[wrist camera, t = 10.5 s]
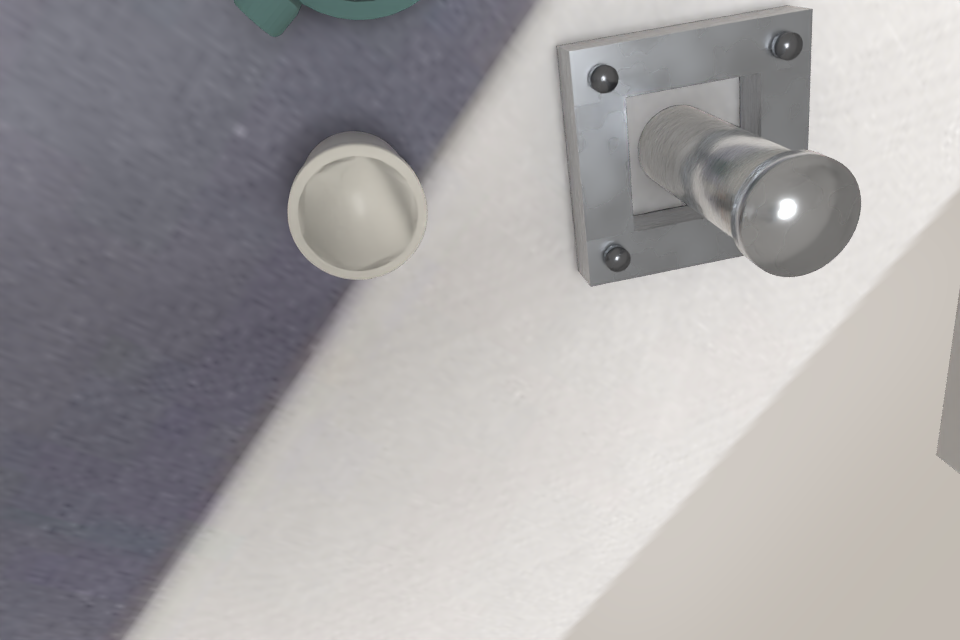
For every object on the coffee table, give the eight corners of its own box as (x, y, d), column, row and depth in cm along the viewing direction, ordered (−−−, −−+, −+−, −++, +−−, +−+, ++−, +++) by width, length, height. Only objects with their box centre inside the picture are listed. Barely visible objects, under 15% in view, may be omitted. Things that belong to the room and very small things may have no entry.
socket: (578, 270, 43) (594, 291, 40) (556, 45, 38) (572, 53, 35) (783, 229, 44) (811, 247, 41) (787, 5, 39) (819, 9, 36)
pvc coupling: (308, 252, 40) (305, 291, 35) (278, 134, 37) (272, 160, 33) (425, 229, 40) (437, 265, 36) (404, 112, 38) (414, 134, 33)
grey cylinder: (634, 198, 41) (742, 287, 31) (629, 107, 39) (742, 168, 29) (721, 182, 42) (857, 264, 31) (720, 91, 40) (864, 145, 29)
